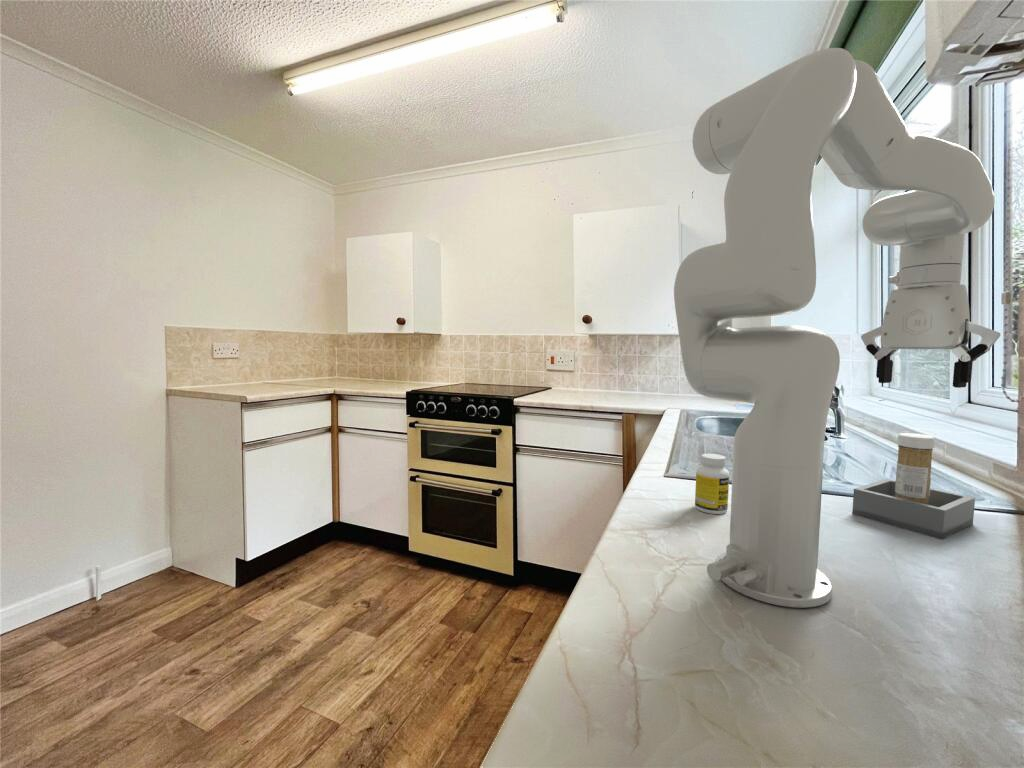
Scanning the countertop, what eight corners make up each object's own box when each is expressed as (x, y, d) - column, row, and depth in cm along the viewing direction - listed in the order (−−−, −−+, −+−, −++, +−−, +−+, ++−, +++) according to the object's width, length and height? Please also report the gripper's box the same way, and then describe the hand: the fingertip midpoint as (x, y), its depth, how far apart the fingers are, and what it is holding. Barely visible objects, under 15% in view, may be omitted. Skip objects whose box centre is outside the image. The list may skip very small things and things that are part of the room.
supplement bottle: (721, 517, 78) (724, 461, 77) (690, 509, 81) (691, 456, 80) (731, 509, 82) (734, 455, 81) (701, 502, 85) (703, 450, 84)
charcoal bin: (942, 539, 69) (944, 510, 68) (852, 513, 79) (853, 488, 79) (972, 524, 74) (975, 497, 74) (885, 502, 85) (886, 478, 85)
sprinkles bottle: (932, 514, 76) (939, 435, 75) (922, 520, 74) (929, 438, 72) (898, 506, 80) (904, 431, 79) (887, 511, 77) (893, 433, 76)
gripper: (855, 284, 79) (848, 382, 80) (995, 269, 64) (984, 390, 65) (876, 287, 83) (869, 380, 84) (1013, 274, 68) (1003, 388, 69)
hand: (920, 384), depth 75 cm, fingers open, 9 cm apart
